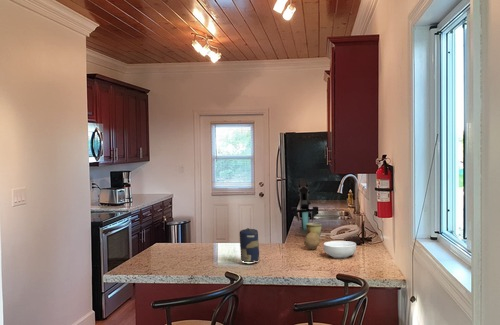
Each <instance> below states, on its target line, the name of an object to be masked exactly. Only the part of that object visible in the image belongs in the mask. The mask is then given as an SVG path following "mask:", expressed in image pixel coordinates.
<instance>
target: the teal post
mask: <svg viewBox="0 0 500 325" xmlns="http://www.w3.org/2000/svg"><path fill="white" fill-rule="evenodd" d="M302 219H303V230H307V227H306V224H307V223H310V220H309V221H308V212H303V213H302Z"/></svg>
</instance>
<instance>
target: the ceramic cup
mask: <svg viewBox="0 0 500 325" xmlns="http://www.w3.org/2000/svg"><path fill="white" fill-rule="evenodd" d="M322 225H323V223H321V222H309V223H307V224H306V227H307V231H308V234H309V233H311V232H314V233H316V234H317V235H318V236H319V238H320V239H321V234H322V232H321V231H322Z"/></svg>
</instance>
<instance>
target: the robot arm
mask: <svg viewBox="0 0 500 325" xmlns="http://www.w3.org/2000/svg"><path fill="white" fill-rule="evenodd" d="M297 188H298V190H297V191H298V196H299V200H300V202H299V203H300V204H299V206H300V208H299V209H298V207H296V206H295V207H291V216H293V217H295V218H296V220H297V221H298V222H300V221H301V222H300V223H301V226H299V228H300V229H302V228H303V219H302V213H303V212H308V221H309V222H310V220H311V221H312V222H313V221H314V218H315V217H316V216H317V215H319V207H318V206H312V208H310V205H311V204H312V201H311V199H309V195H310V193H311V192H310V190H309V189H308V188H309V181H308V180H307V179H306V178H300V179H299V180H298V181H297Z"/></svg>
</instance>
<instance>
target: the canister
mask: <svg viewBox="0 0 500 325" xmlns="http://www.w3.org/2000/svg"><path fill="white" fill-rule="evenodd" d="M239 247H240V261H241V260H242V261H244V262H254V261H258V260H259V261H260V244H259V232H258V230H257V229H254V228H249V227H248V228H247V227H246V228H245V229H240V231H239Z"/></svg>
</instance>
